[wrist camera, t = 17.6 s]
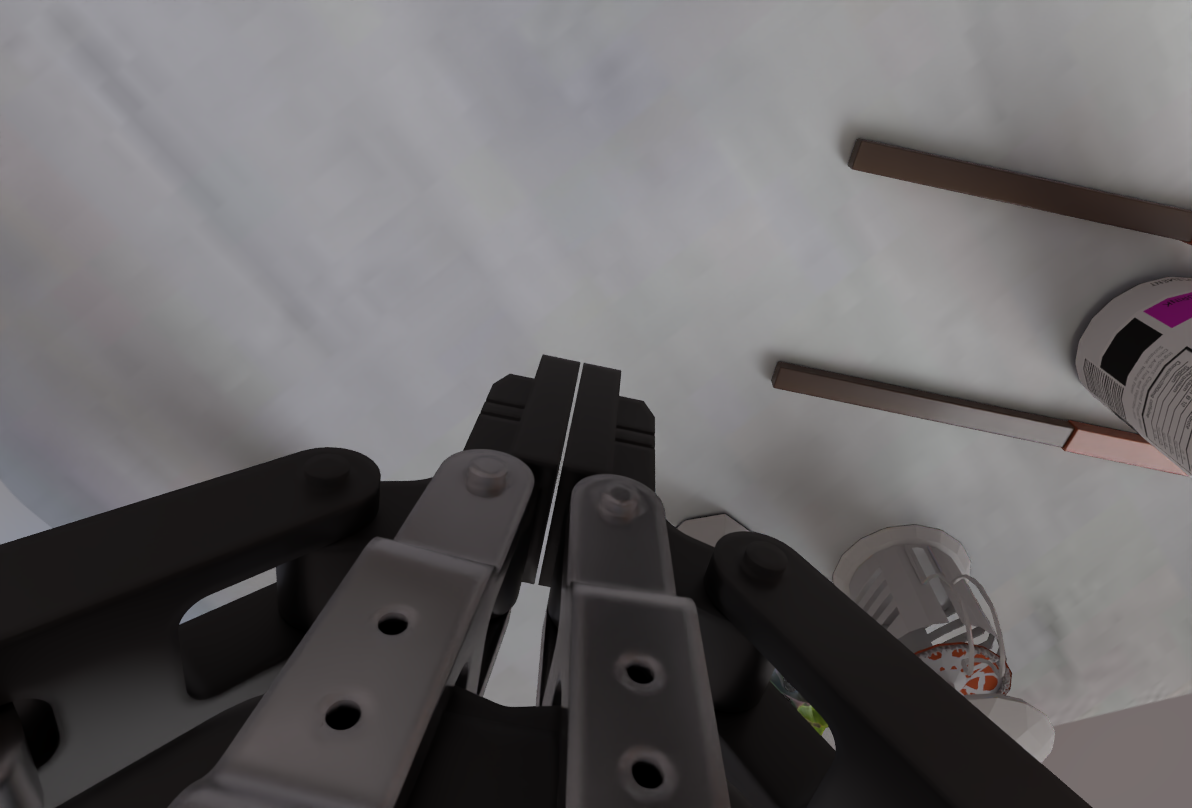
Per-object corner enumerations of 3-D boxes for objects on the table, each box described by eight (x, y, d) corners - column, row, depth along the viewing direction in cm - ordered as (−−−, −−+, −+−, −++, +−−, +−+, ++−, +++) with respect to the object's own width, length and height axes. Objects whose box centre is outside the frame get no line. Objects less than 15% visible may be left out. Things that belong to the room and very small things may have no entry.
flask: (729, 497, 49) (746, 599, 40) (777, 565, 52) (802, 675, 43) (642, 538, 51) (640, 643, 42) (692, 601, 54) (699, 713, 45)
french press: (822, 622, 54) (939, 1030, 32) (848, 501, 48) (1012, 892, 26) (952, 629, 53) (1163, 1049, 31) (994, 507, 48) (1285, 913, 26)
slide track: (857, 135, 37) (863, 138, 36) (1352, 243, 38) (1372, 249, 37) (770, 382, 44) (772, 391, 43) (1186, 468, 45) (1199, 479, 44)
